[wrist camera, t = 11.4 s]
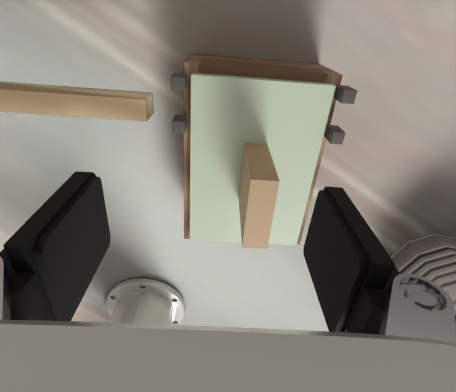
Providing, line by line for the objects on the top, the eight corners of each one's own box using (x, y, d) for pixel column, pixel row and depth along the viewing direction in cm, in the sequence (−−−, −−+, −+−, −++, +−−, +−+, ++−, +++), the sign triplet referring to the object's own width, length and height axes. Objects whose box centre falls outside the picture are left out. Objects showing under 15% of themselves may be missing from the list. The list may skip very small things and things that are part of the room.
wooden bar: (153, 112, 24) (147, 121, 22) (-23, 100, 24) (-46, 108, 22) (152, 92, 24) (145, 99, 22) (-30, 79, 23) (-55, 85, 21)
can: (403, 299, 49) (452, 374, 38) (370, 260, 44) (415, 333, 34) (475, 264, 45) (549, 337, 35) (446, 218, 40) (522, 286, 30)
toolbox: (293, 210, 40) (310, 257, 32) (185, 204, 39) (175, 250, 31) (326, 64, 30) (360, 79, 23) (185, 53, 30) (170, 65, 22)
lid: (294, 239, 33) (312, 297, 26) (190, 233, 33) (181, 291, 26) (331, 83, 25) (373, 108, 18) (192, 72, 24) (178, 93, 17)
